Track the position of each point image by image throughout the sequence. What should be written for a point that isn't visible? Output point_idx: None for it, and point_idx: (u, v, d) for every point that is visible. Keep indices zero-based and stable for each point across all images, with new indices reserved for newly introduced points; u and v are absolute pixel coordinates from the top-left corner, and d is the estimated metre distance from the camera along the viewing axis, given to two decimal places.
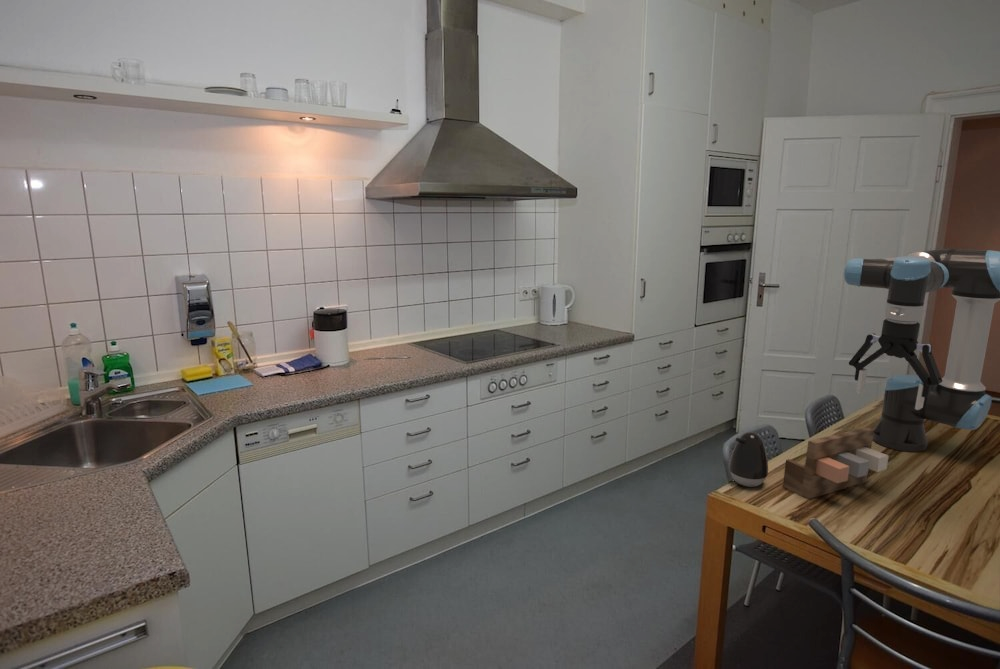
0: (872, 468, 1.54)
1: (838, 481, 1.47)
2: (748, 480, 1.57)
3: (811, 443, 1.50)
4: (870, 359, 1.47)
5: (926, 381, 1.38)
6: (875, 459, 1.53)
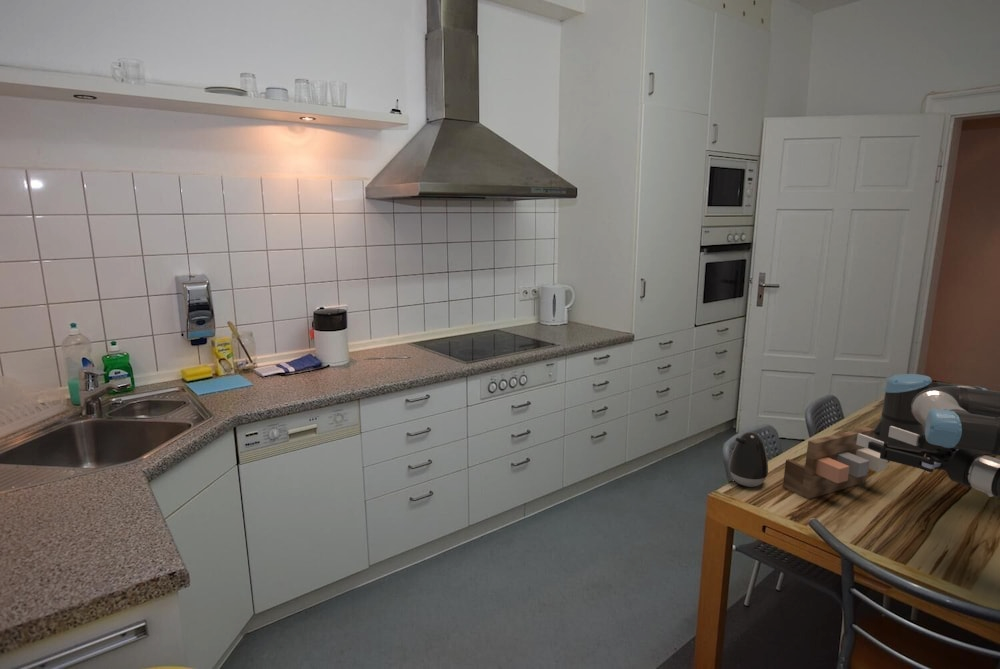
0: (872, 468, 1.54)
1: (838, 481, 1.47)
2: (748, 480, 1.57)
3: (811, 443, 1.50)
4: None
5: None
6: (875, 459, 1.53)
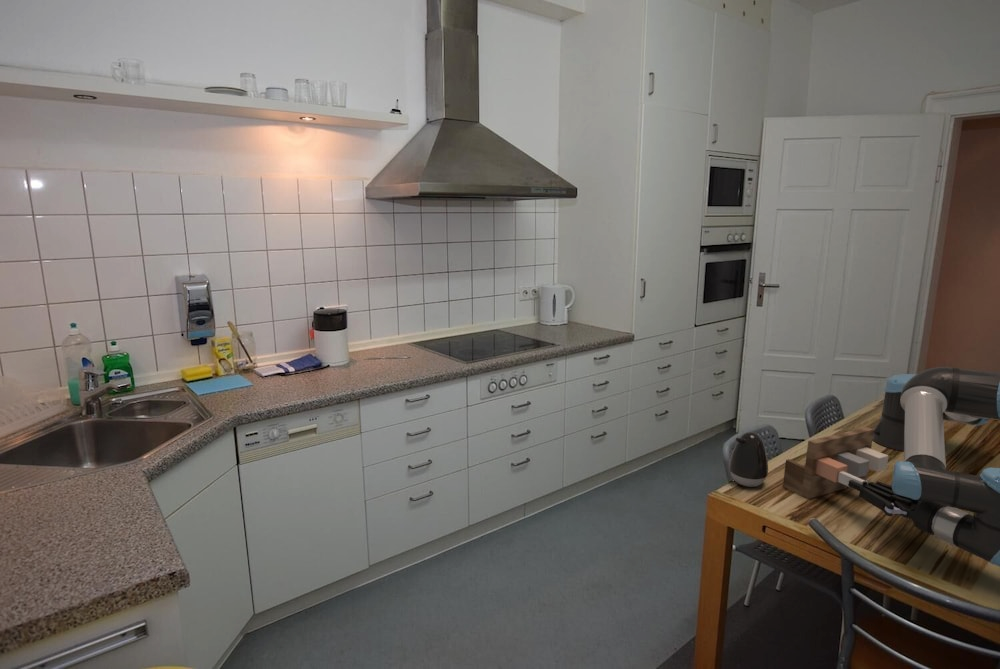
0: (872, 468, 1.54)
1: (836, 480, 1.47)
2: (748, 480, 1.57)
3: (811, 443, 1.50)
4: None
5: None
6: (875, 459, 1.53)
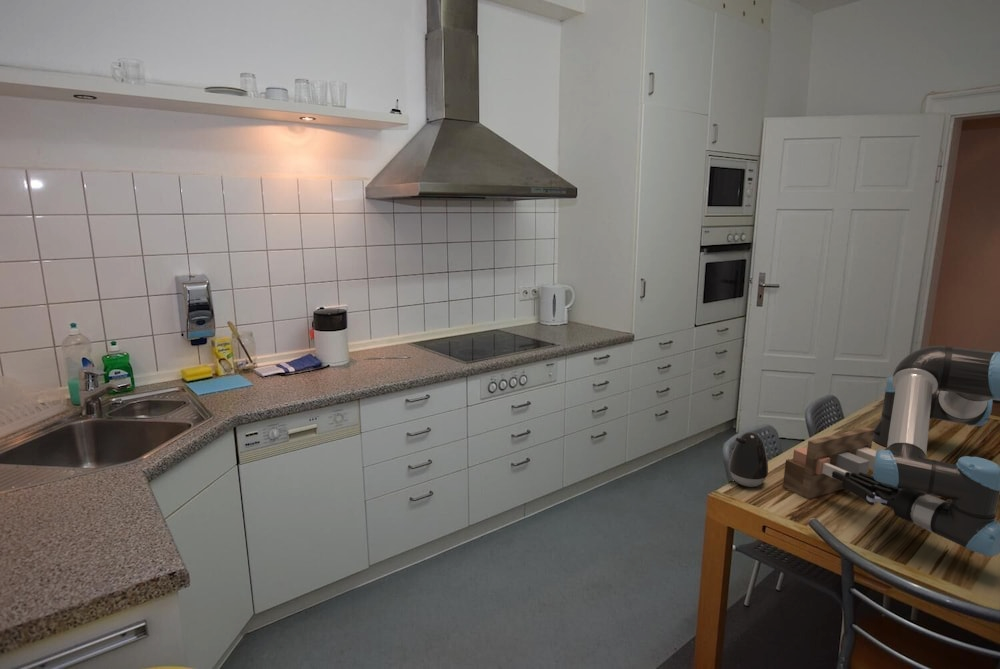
0: (872, 468, 1.54)
1: (819, 472, 1.51)
2: (748, 480, 1.57)
3: (811, 443, 1.50)
4: None
5: None
6: None
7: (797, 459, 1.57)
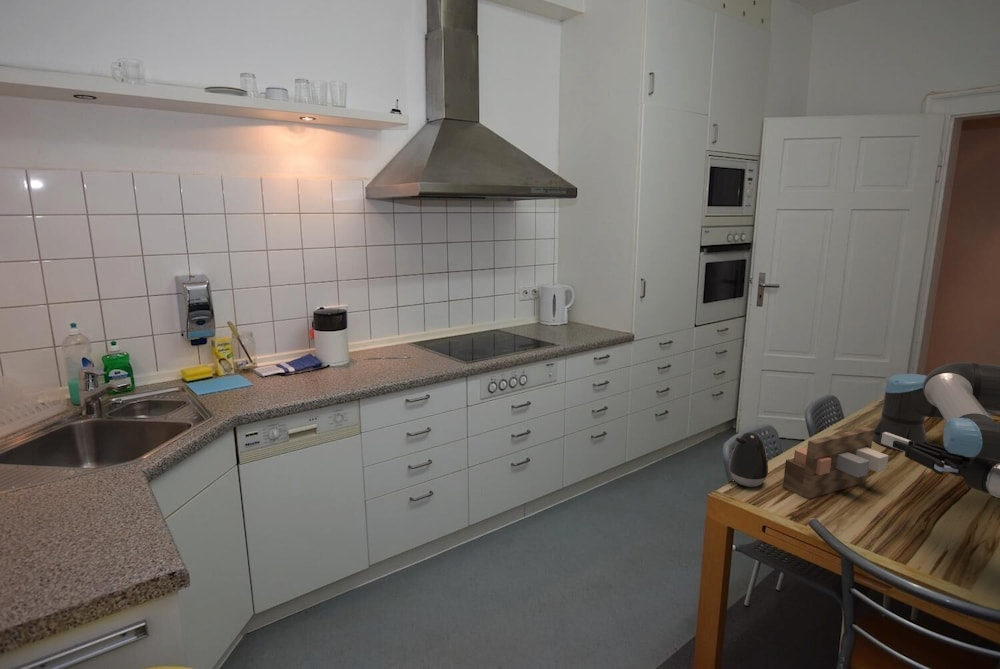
0: (872, 468, 1.54)
1: (820, 473, 1.51)
2: (748, 480, 1.57)
3: (811, 443, 1.50)
4: None
5: None
6: (875, 459, 1.53)
7: (798, 459, 1.57)
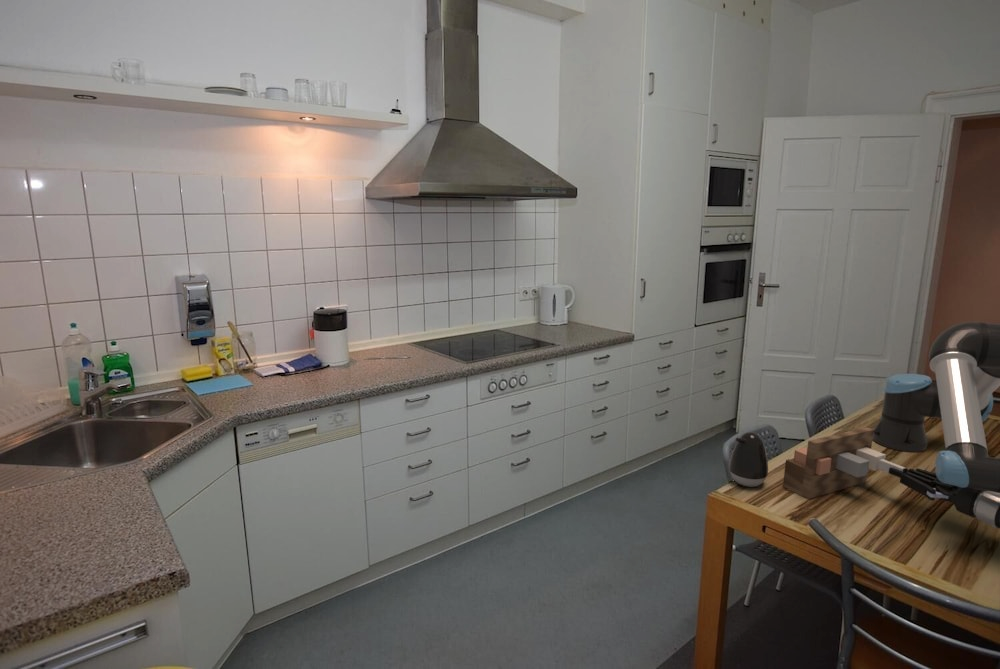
0: (869, 467, 1.55)
1: (820, 473, 1.51)
2: (748, 480, 1.57)
3: (811, 443, 1.50)
4: None
5: None
6: (873, 458, 1.54)
7: (798, 459, 1.57)
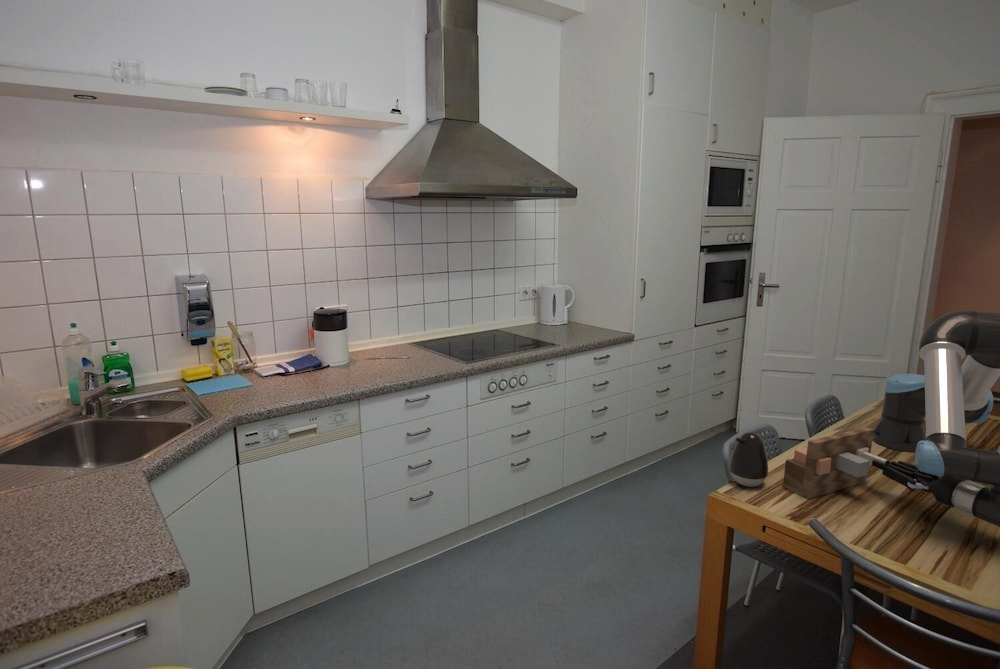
0: None
1: (820, 473, 1.51)
2: (748, 480, 1.57)
3: (811, 443, 1.50)
4: None
5: None
6: (856, 452, 1.58)
7: (798, 459, 1.57)
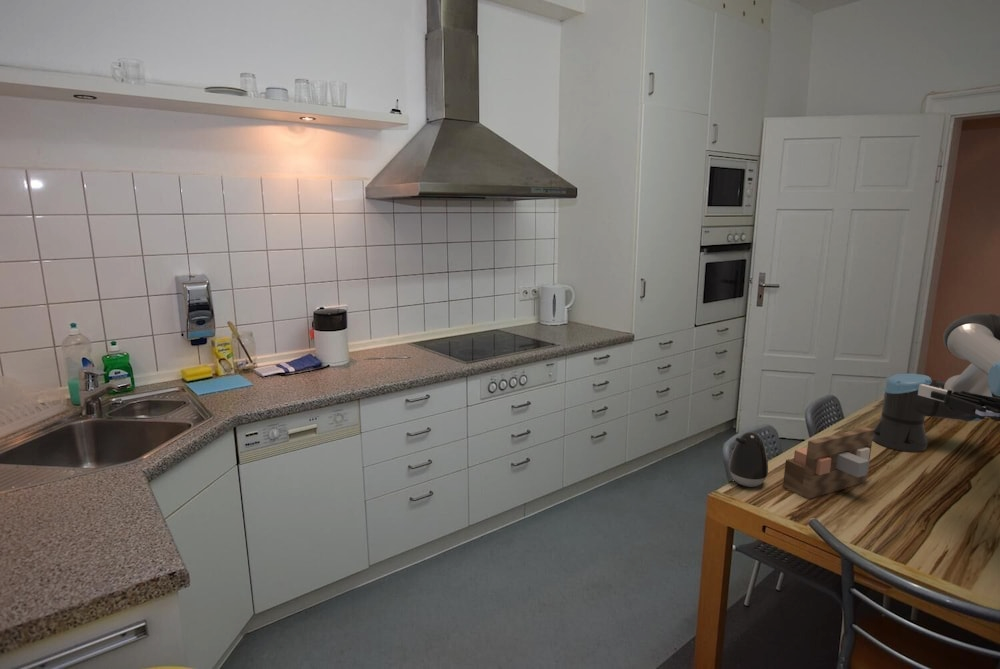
0: None
1: (820, 473, 1.51)
2: (748, 480, 1.57)
3: (811, 443, 1.50)
4: None
5: None
6: (857, 452, 1.58)
7: (798, 459, 1.57)
